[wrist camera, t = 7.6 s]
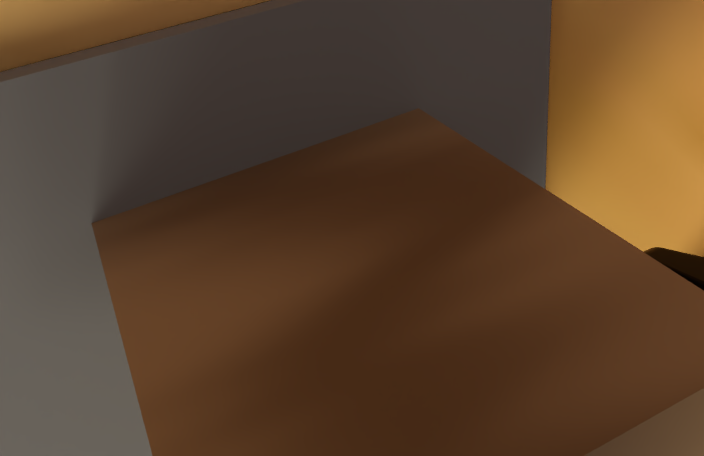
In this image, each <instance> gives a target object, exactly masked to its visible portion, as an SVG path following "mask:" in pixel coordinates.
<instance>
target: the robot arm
mask: <svg viewBox="0 0 704 456" xmlns="http://www.w3.org/2000/svg"><path fill="white" fill-rule="evenodd" d="M644 253H646V254H647V255H649V256H650V257H652V258H653V259H655V260H657V261H658V262H660V263H661V264H663V265H664V266H666V267H667V268H669V269H671V270H672V271H674V272H675V273H677V274H678V275H680V276H682V277H683V278H685V279H686V280H688V281H689V282H691V283H692V284H694V285H696V286H697V287H699V288H700V289H702V290H703V291H704V257H700V256H696V255H691V254H687V253H683V252H678V251H674V250H669V249H665V248H660V247H655V248H651V249H648V250H646V251H644Z"/></svg>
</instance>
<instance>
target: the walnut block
mask: <svg viewBox="0 0 704 456" xmlns="http://www.w3.org/2000/svg"><path fill="white" fill-rule="evenodd" d="M91 224H92V228H93V231H94V235H95V239H96V243H97V247H98V250H99V254H100V258H101V262H102V266H103V269H104V273H105V277H106V281H107V285H108V288H109V292H110V296H111V300H112V304H113V307H114V311H115V315H116V319H117V323H118V326H119V330H120V334H121V338H122V342H123V345H124V349H125V353H126V357H127V361H128V364H129V368H130V372H131V376H132V380H133V383H134V387H135V391H136V395H137V399H138V402H139V406H140V410H141V414H142V418H143V421H144V425H145V429H146V433H147V437H148V440H149V444H150V448H151V452H152V456H704V291H703V290H702V289H700V288H699V287H697V286H696V285H694V284H692V283H691V282H689V281H688V280H686V279H685V278H683V277H682V276H680V275H678V274H677V273H675V272H674V271H672V270H671V269H669V268H667V267H666V266H664V265H663V264H661V263H660V262H658V261H657V260H655V259H653V258H652V257H650V256H649V255H647V254H646V253H644V252H643V251H641V250H639V249H638V248H636V247H635V246H633V245H632V244H630V243H628V242H627V241H625V240H624V239H622V238H621V237H619V236H618V235H616V234H614V233H613V232H611V231H610V230H608V229H607V228H605V227H604V226H602V225H600V224H599V223H597V222H596V221H594V220H593V219H591V218H589V217H588V216H586V215H585V214H583V213H582V212H580V211H579V210H577V209H575V208H574V207H572V206H571V205H569V204H568V203H566V202H564V201H563V200H561V199H560V198H558V197H557V196H555V195H554V194H552V193H550V192H549V191H547V190H546V189H544V188H543V187H541V186H540V185H538V184H536V183H535V182H533V181H532V180H530V179H529V178H527V177H525V176H524V175H522V174H521V173H519V172H518V171H516V170H515V169H513V168H511V167H510V166H508V165H507V164H505V163H504V162H502V161H500V160H499V159H497V158H496V157H494V156H493V155H491V154H490V153H488V152H486V151H485V150H483V149H482V148H480V147H479V146H477V145H476V144H474V143H472V142H471V141H469V140H468V139H466V138H465V137H463V136H461V135H460V134H458V133H457V132H455V131H454V130H452V129H451V128H449V127H447V126H446V125H444V124H443V123H441V122H440V121H438V120H436V119H435V118H433V117H432V116H430V115H429V114H427V113H426V112H424V111H422V110H421V109H419V108H418V109H415V110H412V111H409V112H406V113H404V114H401V115H398V116H395V117H392V118H389V119H387V120H384V121H381V122H378V123H375V124H372V125H369V126H367V127H364V128H361V129H358V130H355V131H352V132H350V133H347V134H344V135H341V136H338V137H335V138H332V139H330V140H327V141H324V142H321V143H318V144H315V145H313V146H310V147H307V148H304V149H301V150H298V151H296V152H293V153H290V154H287V155H284V156H281V157H278V158H276V159H273V160H270V161H267V162H264V163H261V164H259V165H256V166H253V167H250V168H247V169H244V170H242V171H239V172H236V173H233V174H230V175H227V176H224V177H222V178H219V179H216V180H213V181H210V182H207V183H205V184H202V185H199V186H196V187H193V188H190V189H187V190H185V191H182V192H179V193H176V194H173V195H170V196H168V197H165V198H162V199H159V200H156V201H153V202H151V203H148V204H145V205H142V206H139V207H136V208H133V209H131V210H128V211H125V212H122V213H119V214H116V215H114V216H111V217H108V218H105V219H102V220H99V221H96V222H94V223H91Z"/></svg>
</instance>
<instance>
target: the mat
mask: <svg viewBox="0 0 704 456" xmlns="http://www.w3.org/2000/svg"><path fill="white" fill-rule="evenodd" d="M551 5H552V0H271V1H267V2H264V3H260V4H256V5H252V6H249V7H245V8H241V9H237V10H233V11H230V12H226V13H222V14H218V15H214V16H211V17H207V18H203V19H199V20H196V21H192V22H188V23H184V24H180V25H177V26H173V27H169V28H165V29H162V30H158V31H154V32H150V33H146V34H143V35H139V36H135V37H131V38H127V39H124V40H120V41H116V42H112V43H109V44H105V45H101V46H97V47H93V48H90V49H86V50H82V51H78V52H74V53H71V54H67V55H63V56H59V57H56V58H52V59H48V60H44V61H40V62H37V63H33V64H29V65H25V66H22V67H18V68H14V69H10V70H6V71H3V72H0V456H152V452H151V448H150V444H149V440H148V437H147V433H146V429H145V425H144V421H143V418H142V414H141V410H140V406H139V402H138V399H137V395H136V391H135V387H134V383H133V380H132V376H131V372H130V368H129V364H128V361H127V357H126V353H125V349H124V345H123V342H122V338H121V334H120V330H119V326H118V323H117V319H116V315H115V311H114V307H113V304H112V300H111V296H110V292H109V288H108V285H107V281H106V277H105V273H104V269H103V266H102V262H101V258H100V254H99V250H98V247H97V243H96V239H95V235H94V231H93V228H92V224H91V223H94V222H96V221H99V220H102V219H105V218H108V217H111V216H114V215H116V214H119V213H122V212H125V211H128V210H131V209H133V208H136V207H139V206H142V205H145V204H148V203H151V202H153V201H156V200H159V199H162V198H165V197H168V196H170V195H173V194H176V193H179V192H182V191H185V190H187V189H190V188H193V187H196V186H199V185H202V184H205V183H207V182H210V181H213V180H216V179H219V178H222V177H224V176H227V175H230V174H233V173H236V172H239V171H242V170H244V169H247V168H250V167H253V166H256V165H259V164H261V163H264V162H267V161H270V160H273V159H276V158H278V157H281V156H284V155H287V154H290V153H293V152H296V151H298V150H301V149H304V148H307V147H310V146H313V145H315V144H318V143H321V142H324V141H327V140H330V139H332V138H335V137H338V136H341V135H344V134H347V133H350V132H352V131H355V130H358V129H361V128H364V127H367V126H369V125H372V124H375V123H378V122H381V121H384V120H387V119H389V118H392V117H395V116H398V115H401V114H404V113H406V112H409V111H412V110H415V109H418V108H419V109H421V110H422V111H424V112H426V113H427V114H429V115H430V116H432V117H433V118H435V119H436V120H438V121H440V122H441V123H443V124H444V125H446V126H447V127H449V128H451V129H452V130H454V131H455V132H457V133H458V134H460V135H461V136H463V137H465V138H466V139H468V140H469V141H471V142H472V143H474V144H476V145H477V146H479V147H480V148H482V149H483V150H485V151H486V152H488V153H490V154H491V155H493V156H494V157H496V158H497V159H499V160H500V161H502V162H504V163H505V164H507V165H508V166H510V167H511V168H513V169H515V170H516V171H518V172H519V173H521V174H522V175H524V176H525V177H527V178H529V179H530V180H532V181H533V182H535V183H536V184H538V185H540V186H541V187H543V188H544V189H545V182H546V153H547V123H548V94H549V64H550V34H551Z"/></svg>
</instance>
